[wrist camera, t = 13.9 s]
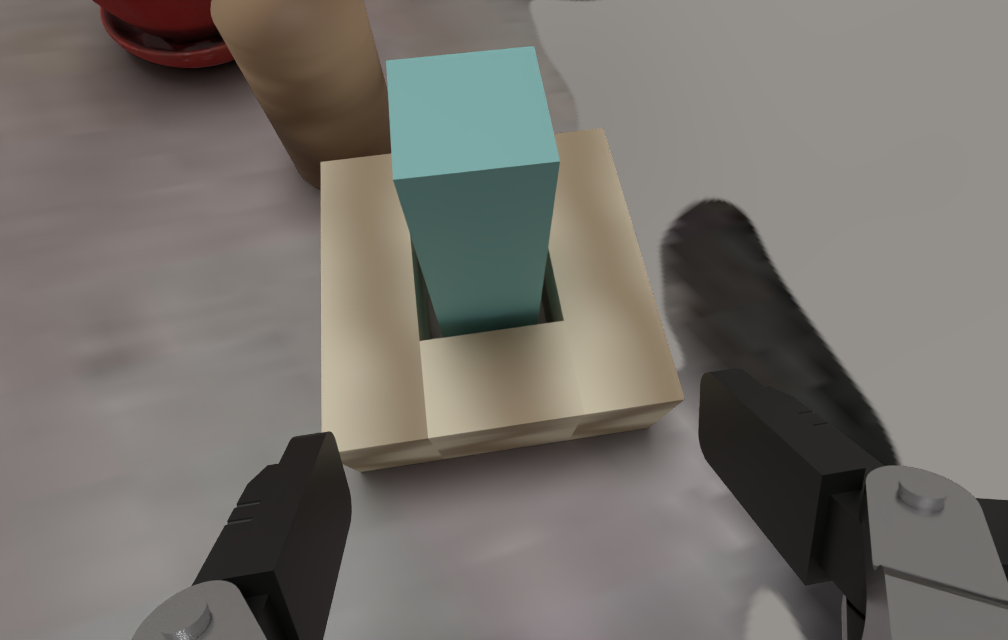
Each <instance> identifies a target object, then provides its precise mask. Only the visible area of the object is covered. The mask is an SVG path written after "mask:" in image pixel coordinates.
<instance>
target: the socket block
mask: <svg viewBox="0 0 1008 640" xmlns="http://www.w3.org/2000/svg"><path fill="white" fill-rule="evenodd" d="M554 137H555V141H556V146H557V150H558V154H559V159H560V165H559V173H558V180H557V187H556V194H555V201H554V209H553V216H552V223H551V230H550V237H549V245H548V252H547V259H546V266H545V273H544V281H543V288H542V295H541V302H540V309H539V317H538V324H537V325H530V326H523V327H516V328H509V329H502V330H495V331H488V332H480V333H473V334H466V335H459V336H452V337H445V338H443V336H442V333H441V329H440V326H439V323H438V320H437V317H436V314H435V311H434V307H433V304H432V301H431V298H430V295H429V292H428V289H427V285H426V282H425V279H424V276H423V273H422V270H421V267H420V263H419V260H418V257H417V254H416V251H415V248H414V245H413V241H412V238H411V235H410V232H409V229H408V226H407V223H406V219H405V216H404V213H403V210H402V207H401V204H400V201H399V197H398V194H397V191H396V188H395V185H394V182H393V173H392V155H391V154H383V155H375V156H367V157H358V158H350V159H342V160H334V161H325V162H321V377H322V432H328V431H330V432H332V433H333V435H334V437H335V439H336V443H337V446H338V450H339V454H340V457H341V461H342V464H344V465H346V466H348V467H350V468H353V469H355V470H357V471H359V472H365V471H371V470H377V469H384V468H390V467H397V466H403V465H410V464H416V463H423V462H429V461H436V460H442V459H449V458H455V457H462V456H468V455H475V454H481V453H488V452H494V451H501V450H507V449H514V448H520V447H527V446H533V445H540V444H546V443H553V442H559V441H566V440H572V439H579V438H585V437H592V436H598V435H605V434H611V433H618V432H624V431H631V430H637V429H644V428H649V427H651V426H652V425H653V424H654V423H656V422H657V421H658V420H659V419H661V418H662V417H663V416H664V415H666V414H667V413H668V412H669V411H671V410H672V409H673V408H675V407H676V406H677V405H678V404H680V403H681V402H682V401H683V400H685V398H684V395H683V392H682V388H681V385H680V382H679V378H678V375H677V372H676V368H675V365H674V362H673V358H672V355H671V352H670V349H669V346H668V342H667V339H666V335H665V332H664V329H663V325H662V322H661V319H660V315H659V312H658V309H657V305H656V302H655V299H654V296H653V292H652V289H651V285H650V282H649V279H648V276H647V272H646V269H645V266H644V262H643V259H642V255H641V252H640V249H639V245H638V242H637V239H636V235H635V232H634V229H633V225H632V222H631V219H630V215H629V212H628V209H627V206H626V202H625V199H624V196H623V192H622V189H621V186H620V182H619V179H618V176H617V172H616V169H615V166H614V162H613V159H612V156H611V152H610V149H609V146H608V142H607V139H606V136H605V132H604V129H603V128H599V129H591V130H583V131H574V132H566V133H558V134H554Z"/></svg>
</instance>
